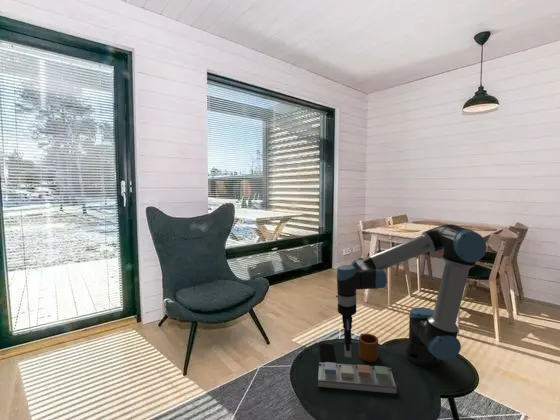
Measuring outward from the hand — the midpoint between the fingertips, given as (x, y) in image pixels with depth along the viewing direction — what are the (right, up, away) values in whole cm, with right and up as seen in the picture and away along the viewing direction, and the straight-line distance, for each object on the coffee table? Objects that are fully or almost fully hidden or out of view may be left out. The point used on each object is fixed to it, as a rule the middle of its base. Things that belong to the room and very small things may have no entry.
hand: (347, 355), depth 129 cm
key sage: (+14, -7, -1) cm, 15 cm away
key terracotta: (+7, -7, 0) cm, 10 cm away
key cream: (0, -8, +1) cm, 8 cm away
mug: (+13, -8, +18) cm, 24 cm away
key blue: (-7, -7, +2) cm, 10 cm away
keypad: (+3, -11, +1) cm, 11 cm away
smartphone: (-6, -9, +20) cm, 22 cm away
